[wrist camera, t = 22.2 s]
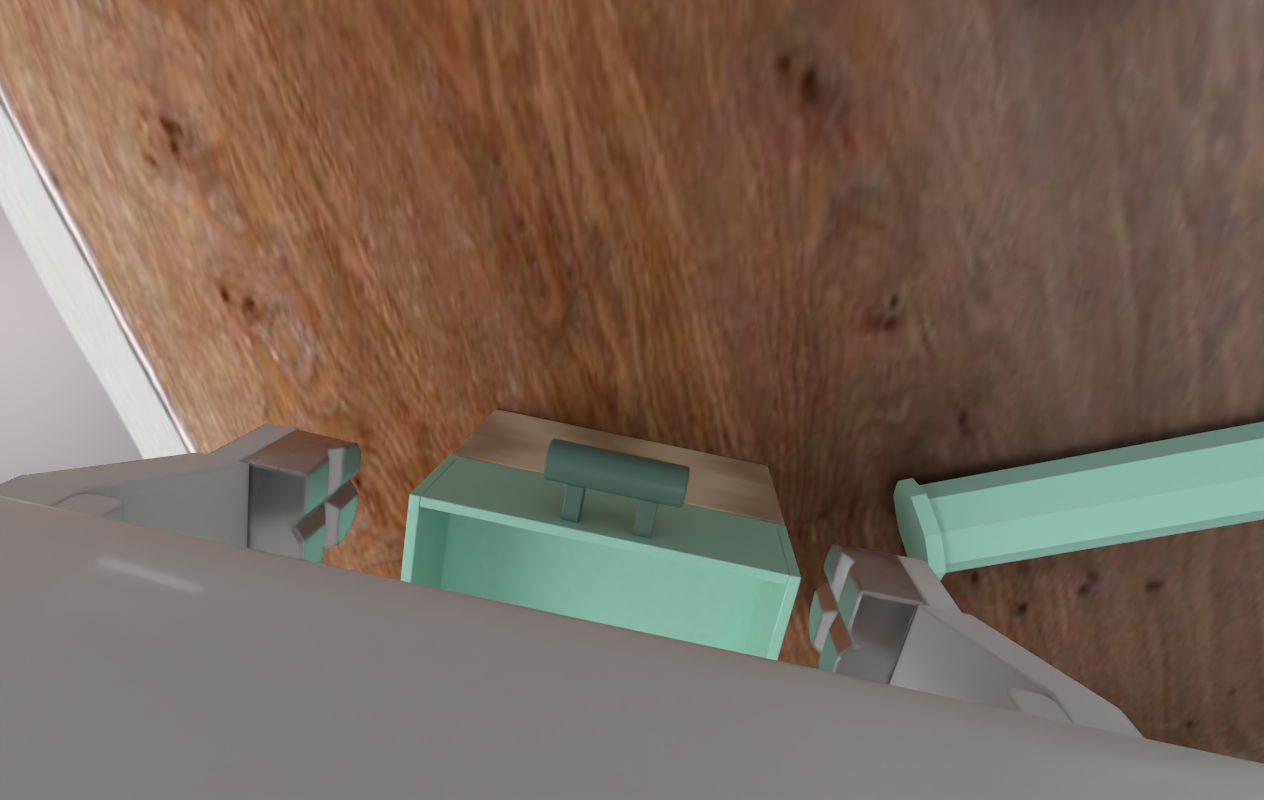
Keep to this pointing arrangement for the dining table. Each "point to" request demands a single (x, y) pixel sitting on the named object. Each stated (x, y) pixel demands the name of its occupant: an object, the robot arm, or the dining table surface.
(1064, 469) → the container
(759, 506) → the riser
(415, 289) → the dining table surface
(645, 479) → the green drawer
